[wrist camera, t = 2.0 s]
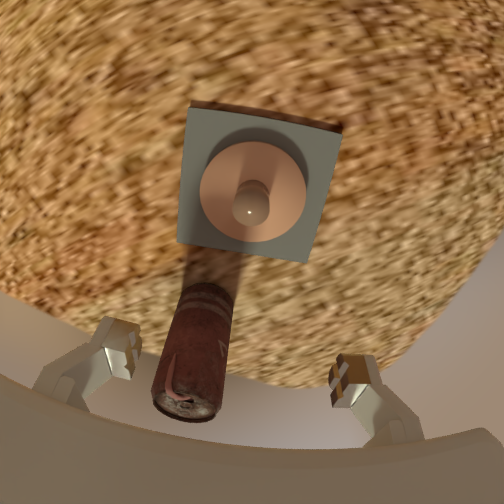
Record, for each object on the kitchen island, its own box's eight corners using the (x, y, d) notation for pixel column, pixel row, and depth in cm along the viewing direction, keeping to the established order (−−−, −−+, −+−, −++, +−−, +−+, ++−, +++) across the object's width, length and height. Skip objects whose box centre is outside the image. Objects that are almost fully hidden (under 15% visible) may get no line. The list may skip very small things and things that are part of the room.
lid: (208, 133, 24) (197, 143, 20) (314, 151, 24) (323, 164, 21) (198, 227, 29) (188, 250, 25) (292, 242, 29) (295, 267, 25)
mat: (189, 107, 23) (188, 107, 23) (341, 133, 24) (342, 135, 23) (178, 239, 30) (176, 242, 30) (306, 260, 31) (306, 263, 30)
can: (215, 271, 32) (191, 383, 20) (243, 312, 35) (233, 421, 23) (169, 289, 33) (131, 393, 22) (198, 326, 36) (176, 428, 24)
